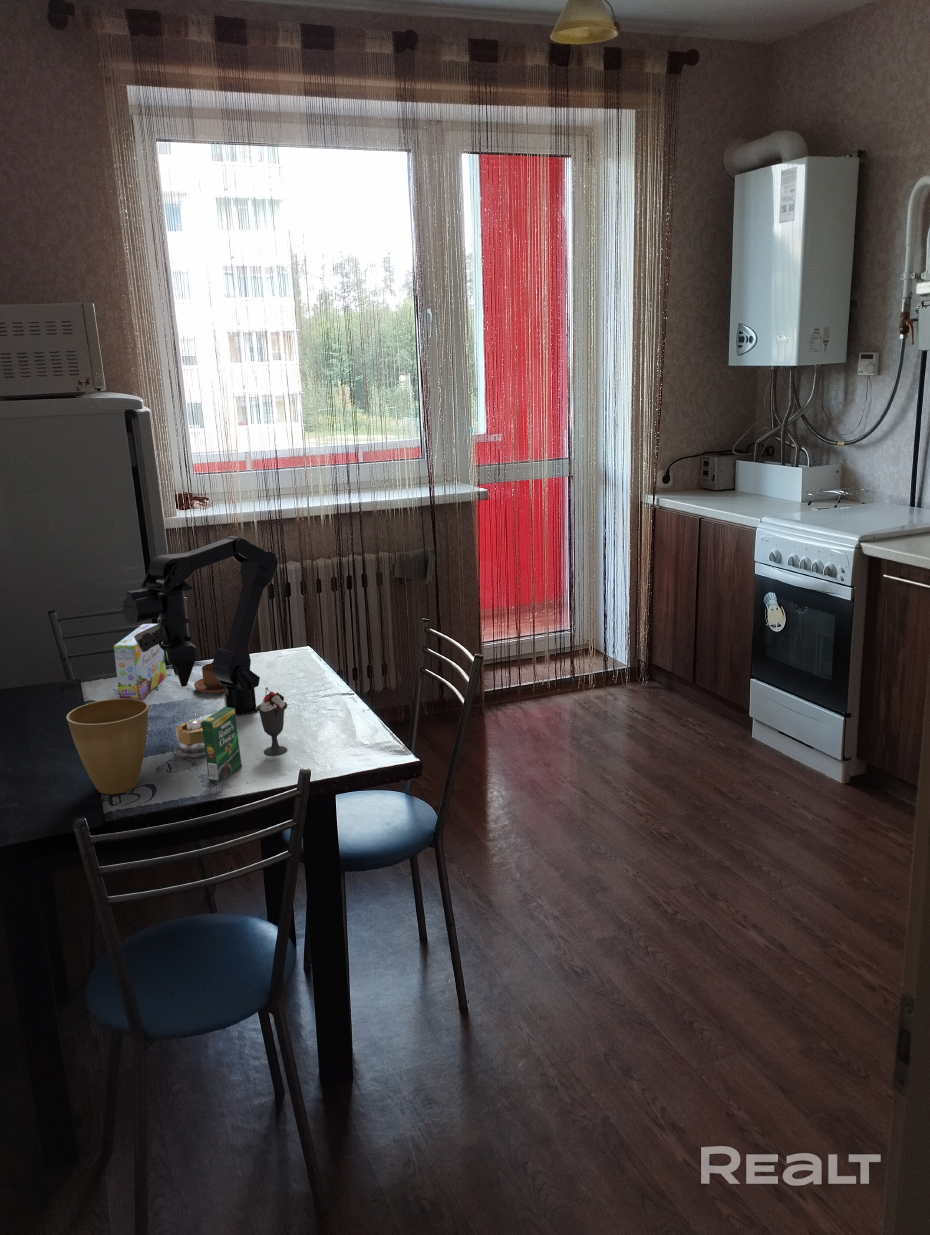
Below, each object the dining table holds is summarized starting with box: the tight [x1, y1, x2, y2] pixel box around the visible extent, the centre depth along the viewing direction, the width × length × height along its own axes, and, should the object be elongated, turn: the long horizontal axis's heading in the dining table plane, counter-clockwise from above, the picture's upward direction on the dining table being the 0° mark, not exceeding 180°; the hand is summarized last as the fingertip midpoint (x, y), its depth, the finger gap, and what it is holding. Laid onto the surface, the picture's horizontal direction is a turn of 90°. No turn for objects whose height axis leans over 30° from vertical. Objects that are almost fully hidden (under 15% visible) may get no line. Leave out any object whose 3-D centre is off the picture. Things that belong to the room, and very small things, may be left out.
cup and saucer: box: [193, 662, 226, 694], centre depth 245 cm, size 12×12×6 cm
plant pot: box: [66, 698, 149, 795], centre depth 188 cm, size 15×15×16 cm
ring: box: [175, 719, 204, 744], centre depth 205 cm, size 7×7×2 cm
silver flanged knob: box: [174, 719, 206, 760], centre depth 205 cm, size 9×9×6 cm
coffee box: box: [202, 706, 243, 783], centre depth 191 cm, size 8×3×13 cm, turn 159°
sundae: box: [255, 687, 288, 756], centre depth 202 cm, size 7×7×15 cm
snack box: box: [113, 623, 168, 701], centre depth 245 cm, size 21×6×15 cm, turn 179°
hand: (180, 680), depth 214 cm, fingers open, 9 cm apart
